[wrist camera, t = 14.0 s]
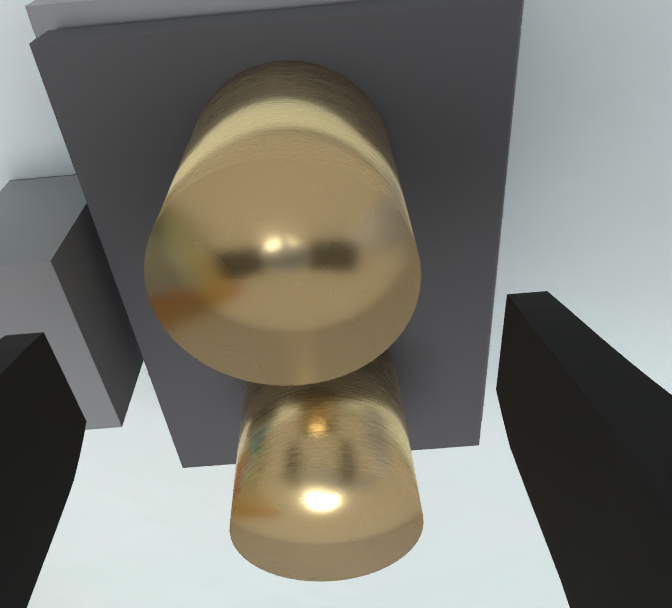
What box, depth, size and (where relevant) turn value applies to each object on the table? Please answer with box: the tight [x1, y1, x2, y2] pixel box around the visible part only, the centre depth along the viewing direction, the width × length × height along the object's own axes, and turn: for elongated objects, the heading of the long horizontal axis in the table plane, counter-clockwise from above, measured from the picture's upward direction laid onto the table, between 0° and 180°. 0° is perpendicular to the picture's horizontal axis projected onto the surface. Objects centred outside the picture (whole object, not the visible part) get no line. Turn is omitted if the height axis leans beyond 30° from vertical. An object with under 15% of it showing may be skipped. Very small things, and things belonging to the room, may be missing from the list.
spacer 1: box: [144, 60, 421, 386], centre depth 13 cm, size 5×5×6 cm
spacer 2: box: [230, 350, 423, 581], centre depth 18 cm, size 5×5×6 cm
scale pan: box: [30, 0, 523, 468], centre depth 18 cm, size 11×15×1 cm
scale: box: [0, 0, 524, 430], centre depth 19 cm, size 16×16×5 cm
